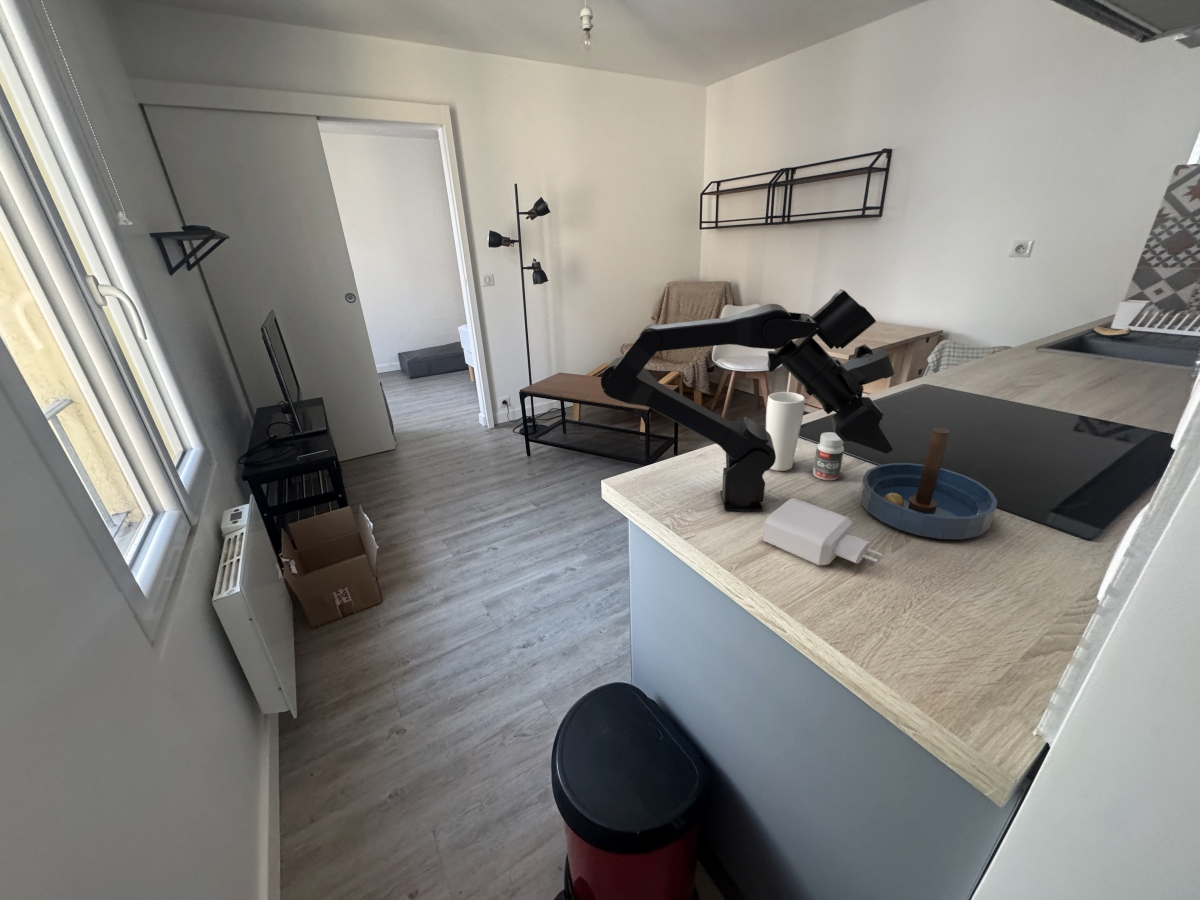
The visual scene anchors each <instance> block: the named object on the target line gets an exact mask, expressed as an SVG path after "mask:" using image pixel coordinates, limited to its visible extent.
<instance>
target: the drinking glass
mask: <svg viewBox="0 0 1200 900" xmlns="http://www.w3.org/2000/svg"><path fill="white" fill-rule="evenodd" d="M805 399H806V398H805V396H803V395H802V394H800V393H797V392H790V391H777V392H773V393H770V394H769V395H768V396H767V400H766V401H767V402H766V409H765V427H766V431H767V432H768V433H769V434H770V435H771V438H772V442H773V446H774V450H775V455H776V459H775V463H774V464H773V466H772V467H771V468H770V469H769V470H772V471H775V472H776V471H777V472H786V471H790V470H791V469H792V468H793V466H794V460H795V454H796V449H797V445H798V440H799V436H800V432H801V429H802V424H803V418H804V411H805V402H806V401H805Z"/></svg>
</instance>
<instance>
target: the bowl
mask: <svg viewBox="0 0 1200 900" xmlns="http://www.w3.org/2000/svg"><path fill="white" fill-rule="evenodd" d="M923 467H924V464H922V463H921V464H920V463H910V462H891V463H885V464H879V465H875V466H874V467H872V468H870V469H868V470H867V471H865V473H864V475H863V476H862V481H861V486H860V490H859V501H860V504H861V506H863V508H864V509H865V510H866V512H867V513H868V514H870V515H872V517H874V518H876V520H878V521H880V522H882V523H883V524H886V525H889V526H890V527H892V528H895V529H897V530H899V531H903V532H906V533H909V534H912V535H916V536H920V537H924V538H925V537H926V538H932V539H939V540H967V539H970V538H975V537H980V536H981V535H982V534H984V533H986V532H987V531H989V529H990V527H991V524H992V521H993V518H994V515H995V512H996V510H997V505H998V500H997V497H996V496H995V494H994V493H993V492H992V491H991V490H990V489H988V487H986V486H985V485H984V484H982V483H981V482H980V481H977V480H975V479H973V478H971V477H969V476H968V475H964V474H961V473H959V472H955V471H953V470H949V469H947V468H942V467H941V468H940V471H939V475H938V478H937V482H936V486H935V489H934V493H933V497H932V499H934V500H935V501H936V502H937V507H936V511H935V512H933V513H921V512H918V511H914V510H912V509H910V508H909V507H908V505H907V503H908V499H909V497H910V496H913V495H916V494H917V490H918V486H919V482H920V478H921V475H922V471H923ZM889 493H897V494H899V495H900V496H901V497H902V498H903V500H904V505H903V507H901V506H899V505H897V504H894V503H892V502H890V501H887V500H886V499H884V496H885V495H887V494H889Z"/></svg>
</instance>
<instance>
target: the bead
mask: <svg viewBox="0 0 1200 900" xmlns="http://www.w3.org/2000/svg"><path fill="white" fill-rule="evenodd" d="M884 499H886V500H887V501H890V502H892V503H894V504H897V505H899V506H901V507H903V505H904V500H903V498H902V497H901V496H900V495H899V494H897V493H889V494H887V495H885V496H884Z"/></svg>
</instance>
